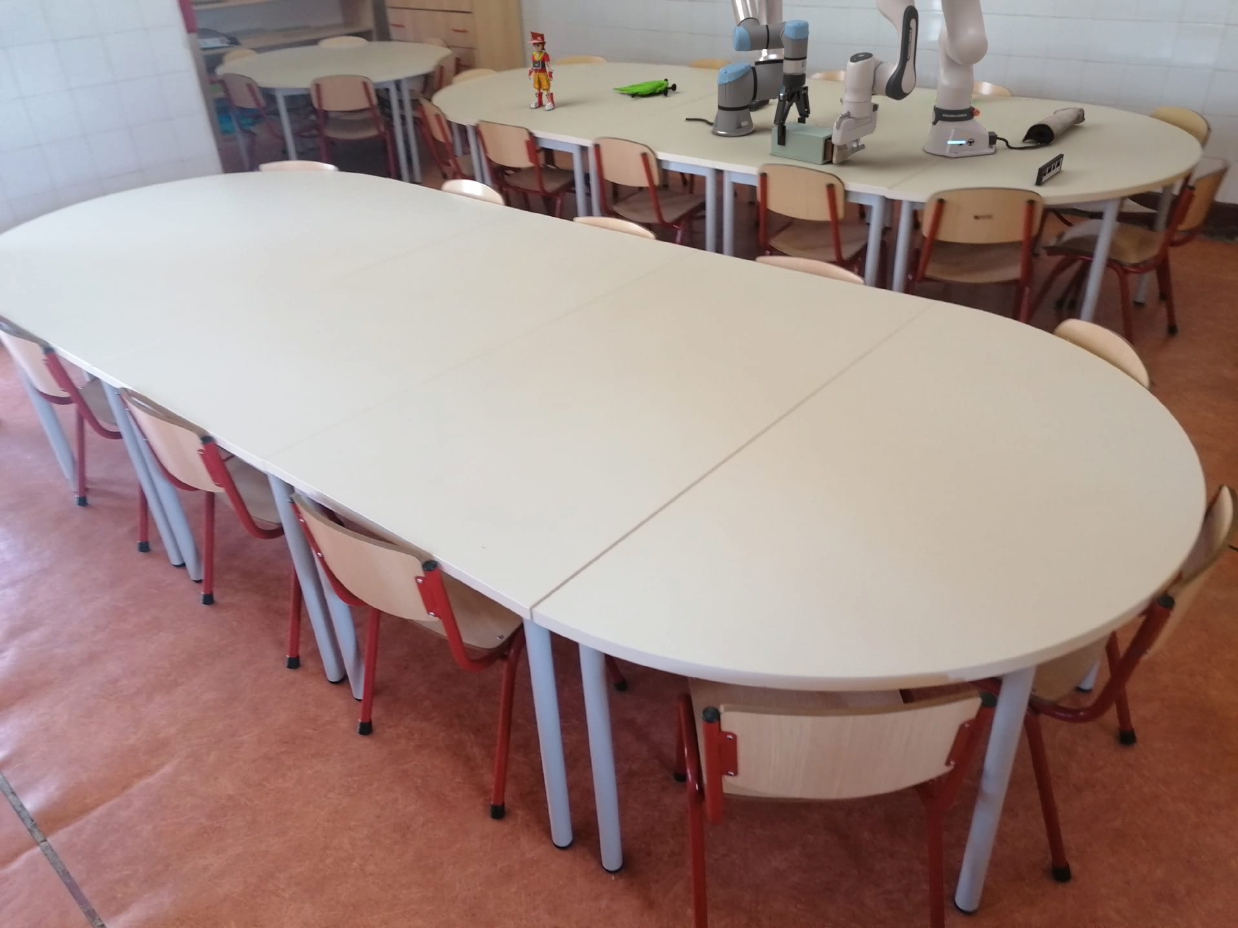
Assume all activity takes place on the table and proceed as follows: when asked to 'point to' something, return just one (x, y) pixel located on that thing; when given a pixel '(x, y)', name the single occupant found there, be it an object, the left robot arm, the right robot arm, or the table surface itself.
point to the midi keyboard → (1049, 169)
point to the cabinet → (802, 142)
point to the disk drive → (757, 104)
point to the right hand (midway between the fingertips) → (851, 153)
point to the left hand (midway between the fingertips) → (790, 141)
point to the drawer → (838, 151)
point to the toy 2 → (648, 88)
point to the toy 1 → (541, 71)
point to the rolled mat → (1054, 125)
